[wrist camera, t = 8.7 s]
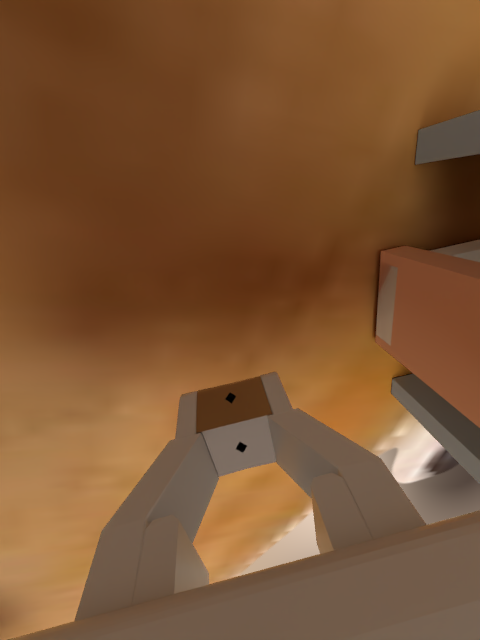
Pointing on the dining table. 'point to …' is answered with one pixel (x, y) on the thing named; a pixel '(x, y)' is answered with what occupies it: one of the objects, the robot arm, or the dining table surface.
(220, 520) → the dining table surface
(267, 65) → the dining table surface
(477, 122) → the tunnel
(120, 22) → the dining table surface
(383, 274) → the white brown flanged block
